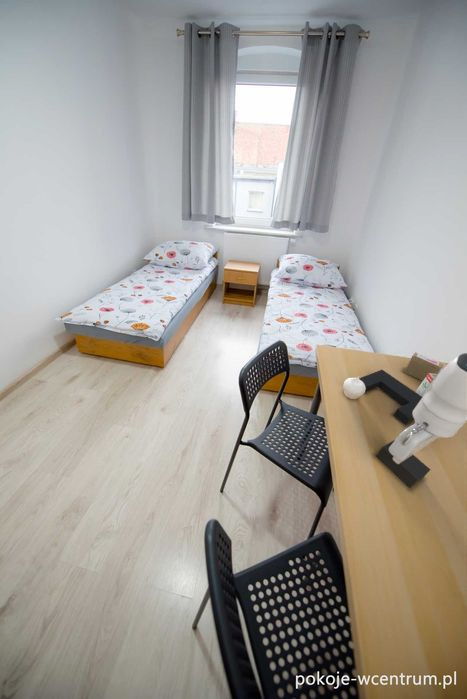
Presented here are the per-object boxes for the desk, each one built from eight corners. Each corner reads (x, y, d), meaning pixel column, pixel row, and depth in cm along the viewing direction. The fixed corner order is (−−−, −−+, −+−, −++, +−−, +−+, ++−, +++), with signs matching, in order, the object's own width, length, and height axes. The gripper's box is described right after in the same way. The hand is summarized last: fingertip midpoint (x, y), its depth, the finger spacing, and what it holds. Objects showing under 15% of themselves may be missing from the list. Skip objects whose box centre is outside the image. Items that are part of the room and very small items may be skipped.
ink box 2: (414, 393, 100) (435, 361, 92) (436, 396, 100) (459, 364, 92) (418, 400, 97) (441, 367, 89) (441, 403, 97) (465, 371, 89)
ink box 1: (432, 381, 107) (444, 364, 103) (430, 385, 105) (442, 368, 100) (405, 368, 113) (415, 351, 108) (402, 372, 110) (412, 355, 105)
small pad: (422, 478, 72) (430, 469, 69) (409, 488, 69) (417, 479, 67) (389, 448, 78) (395, 439, 76) (375, 456, 76) (381, 447, 73)
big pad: (429, 411, 93) (434, 404, 91) (405, 425, 87) (410, 418, 85) (378, 375, 107) (382, 369, 105) (355, 384, 100) (358, 378, 98)
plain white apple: (362, 393, 97) (371, 375, 92) (359, 405, 91) (368, 387, 87) (342, 385, 99) (349, 368, 95) (338, 397, 94) (346, 379, 89)
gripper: (425, 444, 56) (394, 481, 64) (472, 413, 65) (440, 448, 73) (397, 421, 60) (371, 459, 68) (445, 395, 69) (417, 431, 77)
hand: (407, 453), depth 71 cm, fingers open, 8 cm apart
